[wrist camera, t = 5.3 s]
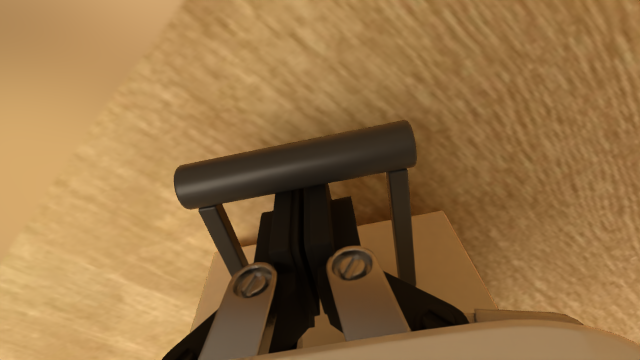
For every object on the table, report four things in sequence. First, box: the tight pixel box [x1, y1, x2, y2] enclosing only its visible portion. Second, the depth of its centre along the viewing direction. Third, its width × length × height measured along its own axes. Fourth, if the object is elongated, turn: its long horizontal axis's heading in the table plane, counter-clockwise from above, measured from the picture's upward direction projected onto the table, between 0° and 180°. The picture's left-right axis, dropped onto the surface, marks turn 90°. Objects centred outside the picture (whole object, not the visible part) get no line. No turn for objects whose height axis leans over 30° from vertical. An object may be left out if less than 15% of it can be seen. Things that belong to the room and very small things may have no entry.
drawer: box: [174, 120, 499, 348], centre depth 16 cm, size 20×11×7 cm, turn 11°
